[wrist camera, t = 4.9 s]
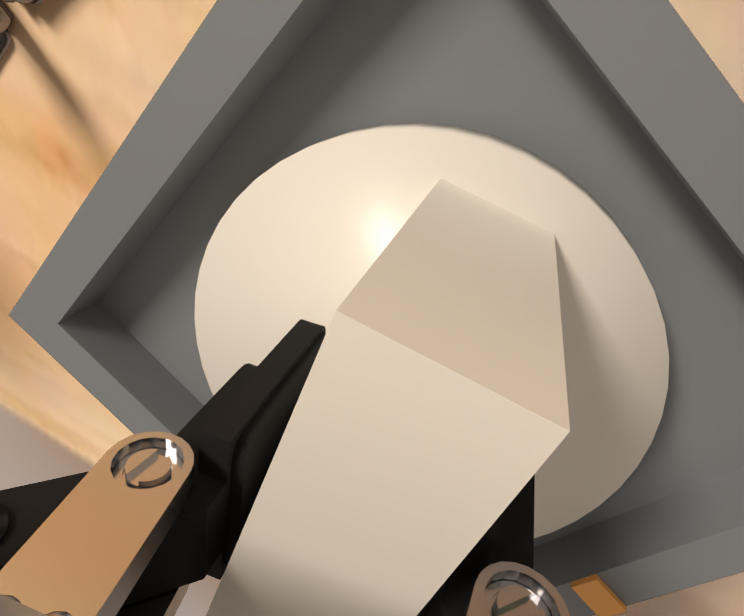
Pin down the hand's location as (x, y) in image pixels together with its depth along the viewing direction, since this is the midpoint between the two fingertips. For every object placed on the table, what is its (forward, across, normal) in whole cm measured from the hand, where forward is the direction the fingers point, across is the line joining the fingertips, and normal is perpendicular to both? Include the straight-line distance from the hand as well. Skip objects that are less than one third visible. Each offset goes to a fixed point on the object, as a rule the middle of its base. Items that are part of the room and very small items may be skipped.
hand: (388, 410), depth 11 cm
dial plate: (+4, 0, 0) cm, 4 cm away
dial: (+2, 0, 0) cm, 2 cm away
